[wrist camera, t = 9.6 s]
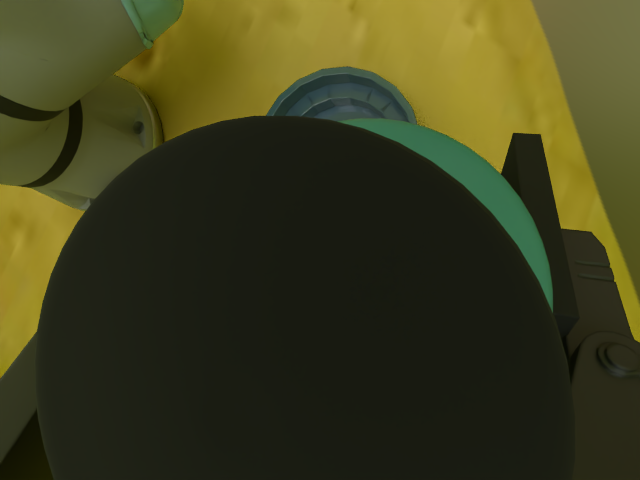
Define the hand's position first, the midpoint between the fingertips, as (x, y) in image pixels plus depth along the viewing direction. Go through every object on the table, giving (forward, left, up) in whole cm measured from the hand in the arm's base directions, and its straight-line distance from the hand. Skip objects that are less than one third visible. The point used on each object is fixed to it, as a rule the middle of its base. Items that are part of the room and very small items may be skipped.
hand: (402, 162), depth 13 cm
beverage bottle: (+2, -3, -9) cm, 9 cm away
